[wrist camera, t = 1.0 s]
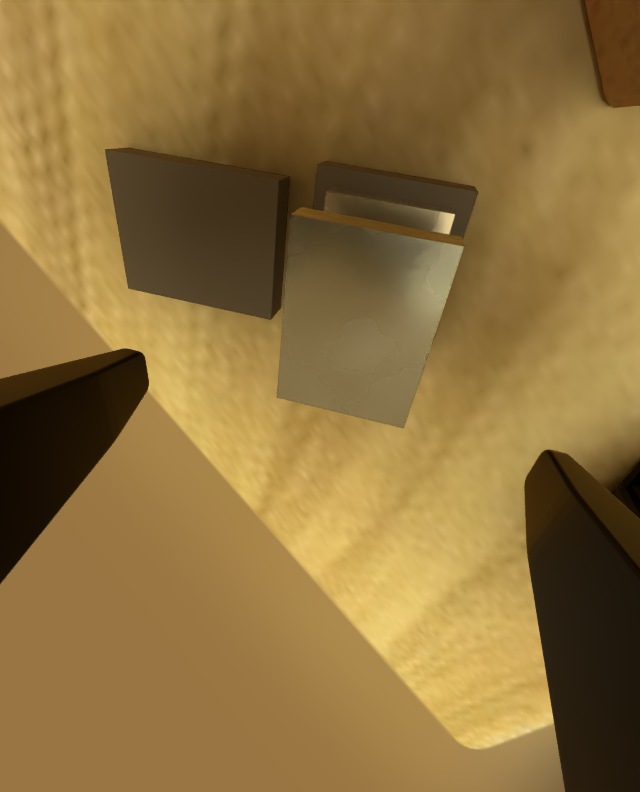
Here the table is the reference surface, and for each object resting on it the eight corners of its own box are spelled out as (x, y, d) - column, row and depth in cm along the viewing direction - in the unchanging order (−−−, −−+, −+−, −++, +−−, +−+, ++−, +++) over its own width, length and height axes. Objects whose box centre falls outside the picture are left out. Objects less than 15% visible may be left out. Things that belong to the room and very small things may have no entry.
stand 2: (474, 186, 15) (478, 191, 14) (421, 352, 19) (420, 368, 18) (326, 161, 16) (317, 164, 14) (307, 327, 20) (299, 340, 19)
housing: (453, 208, 14) (464, 246, 10) (410, 352, 18) (403, 428, 13) (332, 187, 15) (290, 214, 10) (313, 331, 18) (276, 397, 14)
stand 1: (289, 176, 16) (278, 180, 15) (280, 307, 20) (271, 319, 18) (128, 147, 17) (104, 149, 16) (146, 278, 20) (128, 288, 19)
